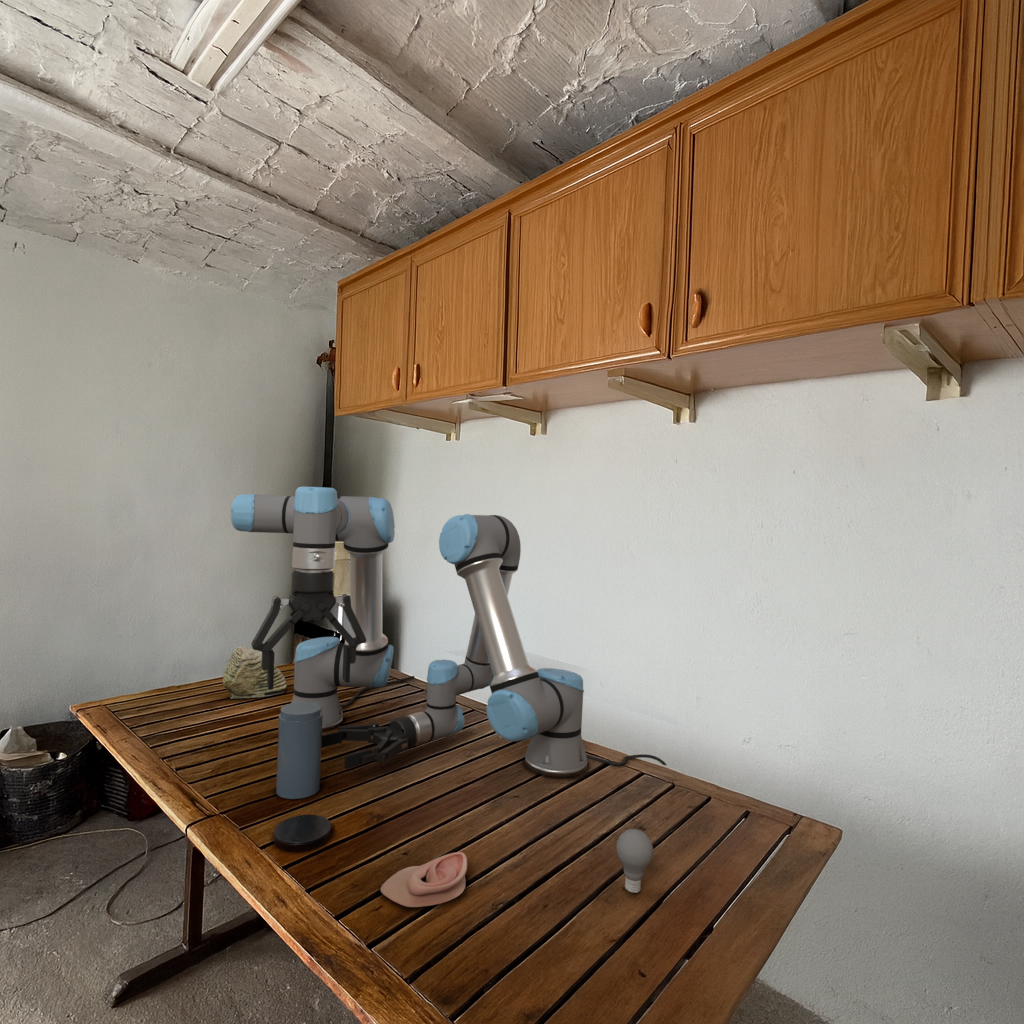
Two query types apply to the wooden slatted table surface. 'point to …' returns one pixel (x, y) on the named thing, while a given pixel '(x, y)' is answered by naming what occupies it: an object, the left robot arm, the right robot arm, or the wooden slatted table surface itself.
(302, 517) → the left robot arm
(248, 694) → the fossil
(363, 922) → the wooden slatted table surface
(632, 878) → the light bulb
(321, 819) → the lid
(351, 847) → the wooden slatted table surface
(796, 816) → the wooden slatted table surface
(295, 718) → the jar
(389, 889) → the anatomical model
